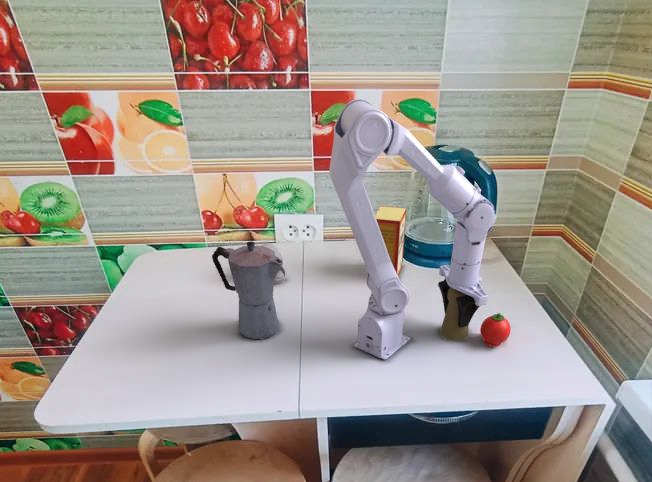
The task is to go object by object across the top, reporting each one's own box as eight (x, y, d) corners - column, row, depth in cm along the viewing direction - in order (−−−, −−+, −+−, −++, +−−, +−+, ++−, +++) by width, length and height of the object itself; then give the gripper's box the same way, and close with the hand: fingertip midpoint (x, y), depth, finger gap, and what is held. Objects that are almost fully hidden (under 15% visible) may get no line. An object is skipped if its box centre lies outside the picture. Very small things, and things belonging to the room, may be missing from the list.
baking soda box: (378, 263, 127) (380, 204, 117) (402, 266, 126) (406, 206, 115) (371, 279, 120) (372, 217, 110) (396, 282, 119) (400, 219, 108)
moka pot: (284, 345, 97) (273, 254, 84) (215, 337, 99) (195, 248, 87) (297, 321, 104) (289, 234, 91) (232, 314, 107) (216, 229, 94)
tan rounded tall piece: (466, 326, 102) (475, 280, 95) (469, 341, 98) (478, 295, 91) (439, 324, 103) (445, 279, 96) (440, 340, 98) (447, 293, 91)
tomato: (500, 353, 94) (507, 325, 90) (473, 343, 97) (478, 315, 93) (511, 340, 98) (519, 312, 94) (485, 330, 101) (491, 303, 97)
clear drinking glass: (242, 278, 120) (238, 250, 115) (263, 266, 126) (260, 239, 121) (273, 289, 116) (270, 261, 111) (294, 277, 121) (292, 249, 116)
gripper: (506, 271, 85) (492, 333, 94) (463, 242, 96) (454, 300, 104) (474, 277, 83) (462, 340, 92) (433, 247, 94) (426, 306, 102)
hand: (456, 319), depth 98 cm, fingers closed on tan rounded tall piece, 5 cm apart
